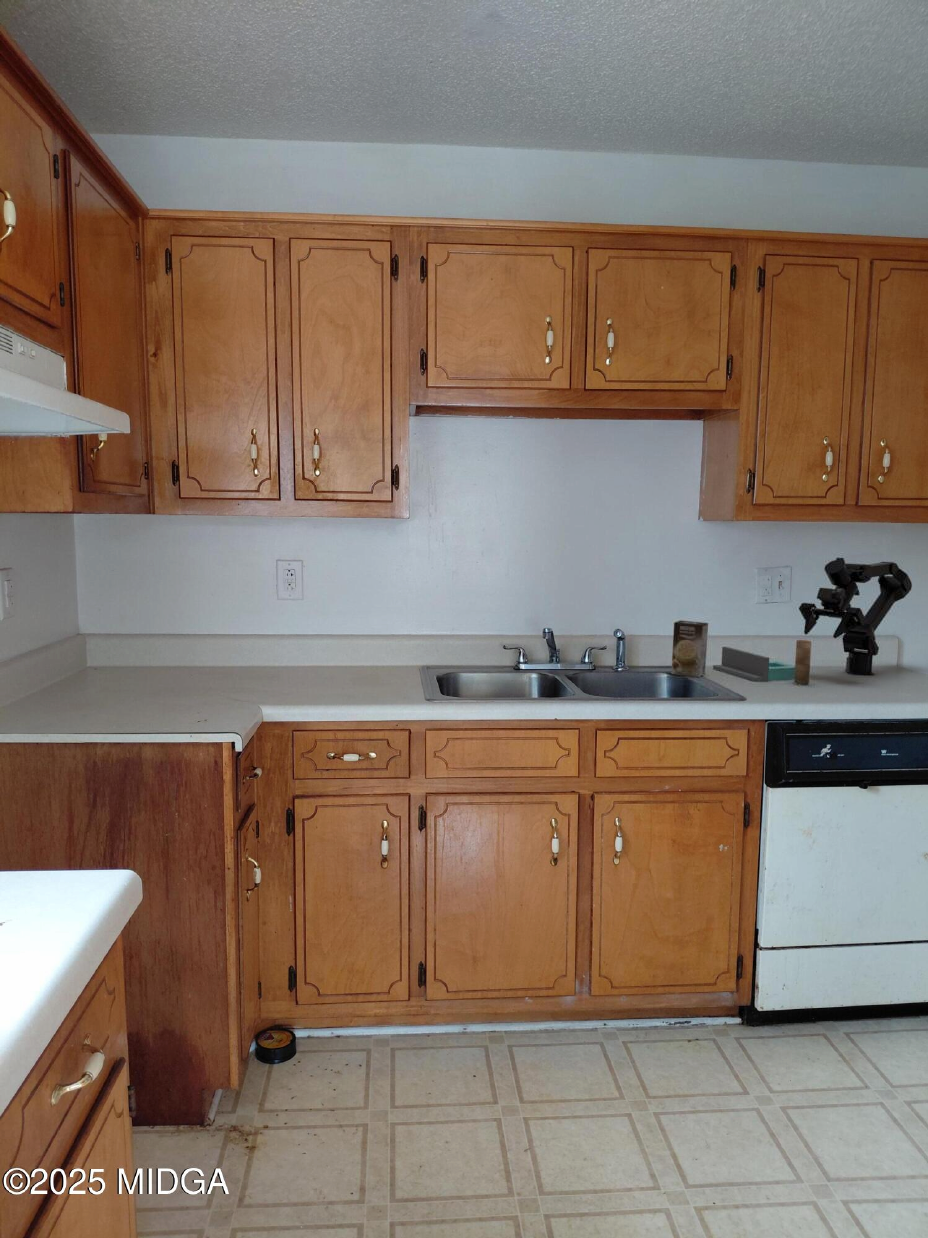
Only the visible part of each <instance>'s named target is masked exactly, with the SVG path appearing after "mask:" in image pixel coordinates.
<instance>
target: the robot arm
mask: <svg viewBox="0 0 928 1238" xmlns="http://www.w3.org/2000/svg"><path fill="white" fill-rule="evenodd" d="M823 569H824V572H825V574H826V576H827V578H828V580H829V582H830V583H831V585H833V586H835V588H829V587H819V589H818V592H817V595H816V599H817V600H819V601H820V602H821V603H820V605H821V607H823V608H820V607H819V608H818V607H817V605H816V604H815V603H811V602H810V603H809V602H802V603H801V604H800V605H799V606H798V610H799V612H800V613H801V616H802V617H803V620H805V623H804V630H803V633H804V635H808V634H809V633H810V632H811V631H812V630H813V628H814V627H815V626H816V625H817V623H818V622H817V621H818V620H819V618H820V617H821V616H822V617H828V618H831V619H841V620H840V622H839V623H838V626H837V627H836V629H835V630H834V633H833V636H832V637H833V639H837V638H839V637H840V636H842V639H841V640H842V647H843V652H844V653H848V654H847V655H848V656H847V657H846V663H845V670H844V671H846V672H847V673H850V674H852V675H875V673H874V672H873V671H872V670H873V656H874V657H875V656H877V655H878V654H879V650H880V649H879V645H878V644H877V642H876V635H875V631H876V630H877V629H878V627H879V626H880V625H881V623H882V621H883V620H884V618H886V616H887V614H888V613H889V611H890V610H891V609H892V607H893V606H894V604H895V603H896V602H899V601H900V600H903V599H905V597H906V596H907V595H908V594H909V593H910V592H911V591H912V587H913V583H912V581H911V579H910V576H909V574H908V573H906V572H905V571H903V570H902V568H900V567H899V565H898V564H897V563H896V562H895V561H880V562H876V563H869V564H865V563H849V562H848V563H846V561H845V558H844V557H836V559H833V560H831V561H829V562H828V563H827V564H825V565H824V568H823ZM876 577H878V579H877V583H878V584H879V585H878V586H879V591H880V593H879V595H878V596H877V597H876V599H875V601H874V602H873V604H872V605H871V606H870V608H868V610H867V612H866V613H865V614H864V613H863V611H862V609H861V607H856V606H853V607H852V604H851V602H852V599H853V598H854V596H860V589H859V586H858V585H857V583H859V584H866V583H868V582H869V581H871V579H872V578H876Z"/></svg>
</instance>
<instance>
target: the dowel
mask: <svg viewBox="0 0 928 1238" xmlns="http://www.w3.org/2000/svg"><path fill="white" fill-rule="evenodd" d="M795 647H796V648H795V661H794V666H795V676H794V680H793V683H796V685H798V684H809V685H810V672H811V670H810V669H811V655H812V641H811V640H807V639H806V640H805V639H804V640H803V639H798V640H796V644H795Z"/></svg>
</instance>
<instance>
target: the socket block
mask: <svg viewBox="0 0 928 1238" xmlns="http://www.w3.org/2000/svg"><path fill="white" fill-rule="evenodd" d="M794 676H795V665H792V664H788V663H786V662H785V663H784V662H782V661H769V674H768V681H767V682H774V681H773V680H777V681H794V680H793V679H794Z"/></svg>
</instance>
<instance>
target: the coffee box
mask: <svg viewBox="0 0 928 1238" xmlns="http://www.w3.org/2000/svg"><path fill="white" fill-rule="evenodd" d="M708 630H709V623H708V622H702V621H701V622H700V621H689V620H681V619H680V620H678V621H675V622H674V623H673V637H672V656H671V672H670V674H671V675H678V676H687V677H694V678H700V676H701V677H703V676H704V675H706V664H707V663H706V662H707V649H708V648H707V646H708ZM702 675H703V676H702Z"/></svg>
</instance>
